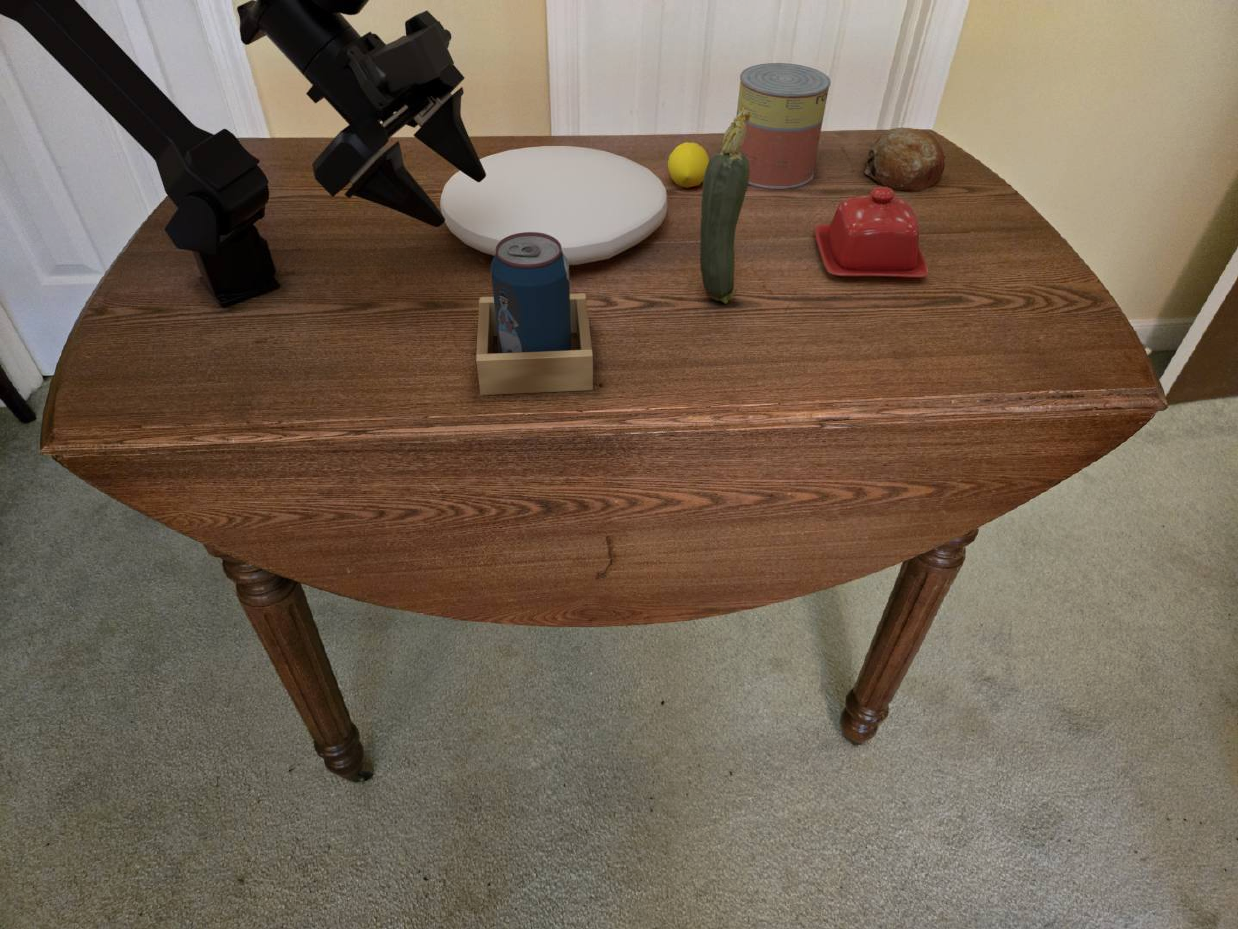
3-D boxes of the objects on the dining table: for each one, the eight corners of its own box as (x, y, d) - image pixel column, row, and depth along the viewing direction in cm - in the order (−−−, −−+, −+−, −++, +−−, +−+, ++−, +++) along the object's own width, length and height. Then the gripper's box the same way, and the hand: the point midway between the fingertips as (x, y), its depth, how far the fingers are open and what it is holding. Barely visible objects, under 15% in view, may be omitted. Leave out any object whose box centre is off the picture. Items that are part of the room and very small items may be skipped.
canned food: (826, 184, 108) (845, 90, 100) (746, 192, 106) (758, 97, 98) (794, 150, 116) (809, 60, 108) (718, 156, 114) (728, 65, 106)
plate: (484, 128, 108) (684, 149, 104) (487, 178, 112) (679, 199, 108) (398, 201, 86) (647, 231, 82) (405, 260, 90) (643, 290, 86)
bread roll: (856, 187, 116) (845, 139, 110) (922, 149, 115) (914, 98, 109) (893, 219, 109) (884, 169, 103) (963, 179, 108) (957, 126, 102)
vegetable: (700, 313, 86) (719, 120, 72) (686, 292, 89) (702, 102, 75) (739, 307, 86) (765, 115, 73) (725, 286, 89) (747, 98, 76)
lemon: (707, 197, 105) (711, 156, 101) (665, 195, 105) (667, 154, 101) (707, 174, 110) (711, 133, 106) (667, 171, 110) (670, 131, 106)
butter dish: (824, 284, 90) (840, 212, 84) (810, 233, 98) (823, 164, 93) (929, 287, 90) (952, 215, 84) (905, 236, 98) (925, 167, 92)
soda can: (576, 341, 82) (573, 230, 73) (565, 384, 77) (561, 270, 68) (508, 336, 82) (497, 225, 74) (493, 378, 77) (480, 265, 69)
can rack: (480, 395, 75) (475, 360, 72) (483, 331, 83) (479, 296, 80) (593, 390, 76) (592, 355, 73) (586, 326, 83) (585, 293, 81)
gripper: (317, 18, 56) (478, 197, 62) (433, -44, 69) (556, 109, 75) (246, 115, 63) (396, 268, 69) (363, 42, 76) (482, 176, 82)
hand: (463, 200), depth 74 cm, fingers open, 9 cm apart
